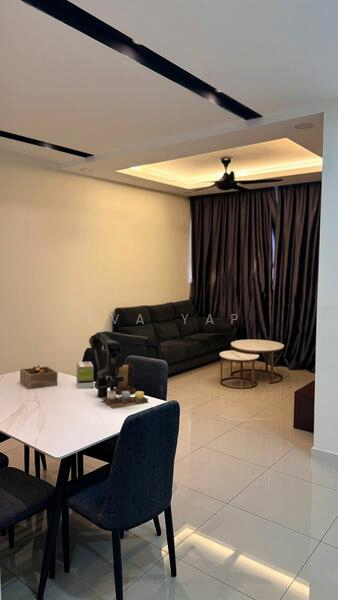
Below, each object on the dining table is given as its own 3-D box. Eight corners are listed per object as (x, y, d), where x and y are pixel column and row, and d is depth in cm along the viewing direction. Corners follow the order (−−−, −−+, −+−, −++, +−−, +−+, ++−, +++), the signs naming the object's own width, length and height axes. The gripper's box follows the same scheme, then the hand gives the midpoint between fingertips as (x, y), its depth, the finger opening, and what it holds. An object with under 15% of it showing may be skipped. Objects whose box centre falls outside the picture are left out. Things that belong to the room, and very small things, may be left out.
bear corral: (20, 382, 280) (20, 369, 279) (47, 379, 291) (47, 366, 290) (29, 389, 264) (29, 375, 263) (57, 385, 275) (57, 372, 274)
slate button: (119, 398, 240) (119, 391, 240) (126, 397, 243) (127, 390, 242) (123, 400, 236) (124, 393, 236) (131, 399, 239) (131, 392, 238)
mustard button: (133, 398, 241) (133, 391, 240) (140, 397, 243) (140, 390, 243) (138, 400, 237) (138, 393, 237) (145, 399, 240) (145, 392, 239)
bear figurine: (33, 387, 268) (34, 369, 267) (27, 382, 280) (27, 364, 280) (54, 385, 276) (54, 367, 275) (47, 380, 288) (47, 363, 288)
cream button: (105, 398, 239) (105, 391, 239) (113, 397, 242) (113, 390, 242) (109, 400, 235) (109, 393, 235) (117, 399, 238) (117, 392, 238)
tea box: (76, 383, 283) (76, 361, 282) (90, 382, 286) (91, 361, 285) (78, 388, 269) (78, 366, 268) (93, 388, 272) (94, 365, 271)
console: (100, 403, 239) (100, 397, 239) (134, 397, 252) (134, 392, 252) (113, 410, 226) (113, 404, 226) (148, 404, 239) (149, 398, 239)
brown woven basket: (108, 395, 255) (109, 363, 254) (117, 389, 270) (118, 359, 269) (131, 398, 252) (132, 365, 251) (138, 391, 266) (139, 360, 265)
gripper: (92, 362, 240) (91, 388, 241) (107, 368, 225) (106, 397, 226) (109, 360, 247) (108, 386, 248) (125, 366, 232) (124, 394, 232)
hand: (111, 390), depth 238 cm, fingers closed
